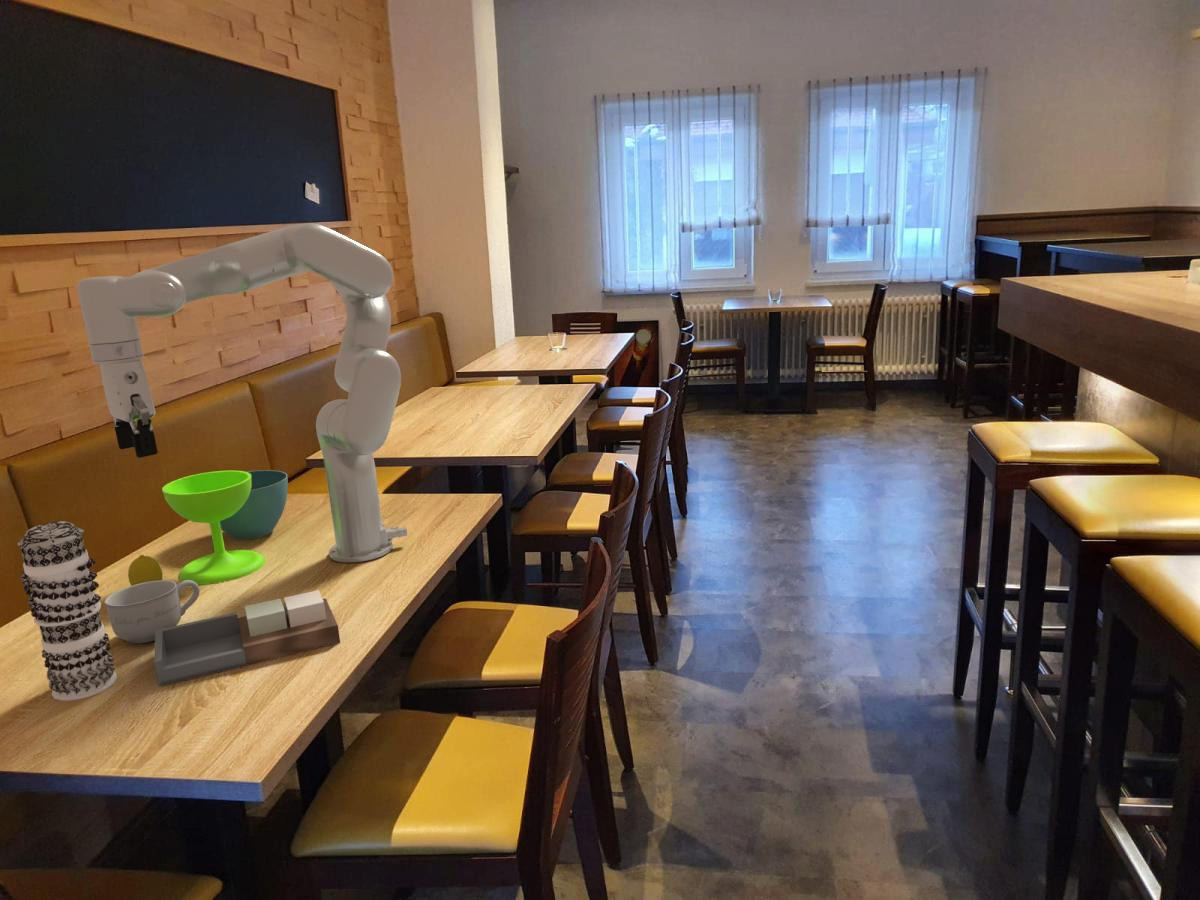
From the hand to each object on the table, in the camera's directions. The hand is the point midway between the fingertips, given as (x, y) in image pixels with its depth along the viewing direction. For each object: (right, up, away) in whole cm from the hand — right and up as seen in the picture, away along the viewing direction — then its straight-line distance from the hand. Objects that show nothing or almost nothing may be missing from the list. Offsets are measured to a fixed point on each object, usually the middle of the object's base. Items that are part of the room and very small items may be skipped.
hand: (138, 451), depth 147 cm
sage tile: (+26, -28, -10) cm, 39 cm away
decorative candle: (+2, -35, -19) cm, 40 cm away
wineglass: (+4, -24, +24) cm, 34 cm away
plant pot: (+2, -19, +44) cm, 48 cm away
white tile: (+31, -27, -7) cm, 42 cm away
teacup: (+5, -31, -3) cm, 31 cm away
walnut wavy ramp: (+29, -30, -8) cm, 42 cm away
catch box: (+17, -32, -13) cm, 39 cm away
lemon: (-5, -27, +13) cm, 30 cm away
